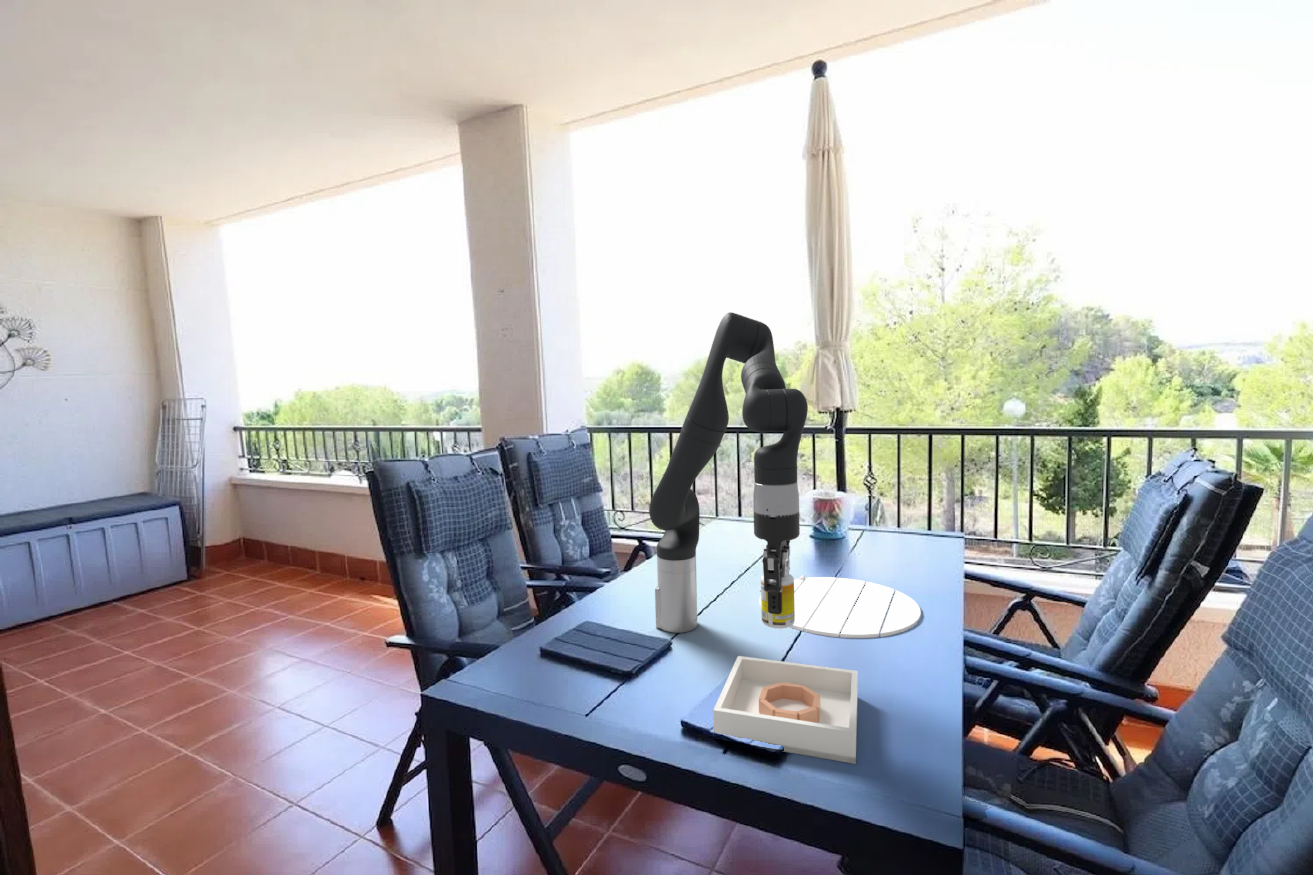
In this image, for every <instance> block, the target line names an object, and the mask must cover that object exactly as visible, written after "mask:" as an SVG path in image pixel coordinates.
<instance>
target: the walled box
mask: <svg viewBox="0 0 1313 875" xmlns="http://www.w3.org/2000/svg"><path fill="white" fill-rule="evenodd" d="M858 672H859V671H858V670H854V669H853V670H852V669H845V668H837V667H830V666H820V665H813V664H805V663H799V662H798V663H797V662H789V661H781V660H773V659H767V658H766V659H765V658H758V657H752V656H751V657H750V656H743V655H737V657H736V659H735V662H734V664H733V665H732V668H731V670H730V673H729V675H728V677H727V679H726V681H725V684H724V686H723V688H722V690H721V692H720V695H719V696H718V699H717V701H716V703H715V705H714V708H713V709H712V710H713V711H712V712H713V713H712V714H713V716H712V717H713V718H712V719H713V733H714V732H715V733H721V734H726V735H731V736H734V737H738V738H747V739H752V740H756V741H760V742H765V743H768V744H773V745H782V746H783V747H784V751H783V752H785V753H791V754H797V755H803V756H806V757H807V756H809V757H813V758H818V759H825V760H831V761H836V762H842V763H849V764H853V765H856V764H857V762H856V761H857V733H858V732H857V729H858V728H857V727H858V696H859V695H858V693H859V692H858V691H859V690H858V688H859V687H858V686H859V680H858V679H859V674H858Z"/></svg>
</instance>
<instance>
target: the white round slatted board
mask: <svg viewBox="0 0 1313 875" xmlns="http://www.w3.org/2000/svg"><path fill="white" fill-rule="evenodd" d="M865 583H866V584H865ZM864 585H865V586H864ZM863 587H864V588H863ZM861 591H862V592H861ZM759 592H760V593H761V589H760V590H759ZM827 593H828V594H827ZM860 593H861V594H860ZM893 594H894V595H893ZM858 597H859V598H858ZM892 597H893V598H892ZM857 599H858V600H857ZM891 599H892V601H891ZM758 600H759V607H760V608H761V594H760V596H759V599H758ZM856 601H857V602H856ZM890 602H891V603H890ZM855 603H856V604H855ZM794 604H795V622H794V624H793V625H792V626H790V627H789V628H791V629H793V630H796V631H797V630H798V631H800V632H803V631H804V632H805V633H809V634H813V635H817V636H823V637H824V636H825V637H833V638H839V637H840V638H841V639H844V638H845V639H872V638H873V639H875V638H878V637H879V636H880V637H881V638H883V637H888V636H889V637H890V636H894V635H897V633H898V634H901V633H903V632H906V631H908V629H909V628H910V629H912V628H913V627H912V626H914V625H915V626H916V625H917V624H918V623H919V622H920V620H921V618H920V617H922V610H921V608H920V606H919V604H918V603H917V602H916V601H915V599H913V598H911V596H909V595H907V594H905V593H903V592H901V591H899V590H895V589H894V588H892V587H889V586H885V585H883V584H880V583H879V584H878V583H875V582H871V581H865V580H861V579H855V578H846V577H835V576H832V577H831V576H815V577H814V576H813V577H811V576H810V577H809V576H808V577H806V575H803V574H802V575H801V576H800V577H799V578H795V579H794ZM854 605H855V606H854ZM889 605H890V606H889ZM888 608H889V609H888ZM886 613H887V614H886ZM847 618H848V619H847ZM884 619H885V620H884ZM919 619H920V620H919ZM918 621H919V622H918ZM917 622H918V623H917ZM915 626H914V627H915ZM881 627H882V628H881ZM911 627H912V628H911ZM910 629H909V630H910ZM840 632H841V633H840ZM900 632H901V633H900ZM893 634H894V635H893Z"/></svg>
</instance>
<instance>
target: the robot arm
mask: <svg viewBox="0 0 1313 875" xmlns="http://www.w3.org/2000/svg"><path fill="white" fill-rule="evenodd" d="M772 334H773V333H772V331H771V329H770V327H769V326H768V325H767V324H765V323H764V322H762V321H759V320H757V319H753V318H750V317H747V316H744V315H741V314H738V313H737V312H736V313H735V312H731V311H729V312H727V313H726V314H725V315H724V316H722V319H721V320H720V322H719V324H718V327H717V329H716V331H715V335H714V338H713V341H712V344H711V347H710V350H709V354H708V357H707V360H706V364H705V367H704V370H703V373H702V376H701V379H700V381H699V384H698V387H697V390H696V392H695V395H694V397H693V399H692V402H691V404H690V407H689V409H688V411H687V413H686V416H685V419H684V422H683V424H682V427H681V429H680V433H679V436H678V438H677V441H676V444H675V446H674V448H673V451H672V453H671V457H670V459H669V462H668V464H667V467H666V469H665V470H664V473H663V475H662V477H661V479H660V481H659V483H658V484H657V487H656V489H655V491H654V493H653V495H652V497H651V499H650V502H649V507H648V508H649V509H648V514H649V515H648V516H649V517H650V518H649V519H650V521H651V523H652V524H653V526H655V528H656V529H658V530H661V531H662V530H663V531H664V534H663V535H662V537H661V538H660V540H659V541H658V542H657V543H656V544H657V545H656V565H657V566H656V569H657V571H656V572H657V586H656V587H655V589H654V599H655V600H654V601H655V602H654V604H655V628H657V629H661V630H663V631H665V632H667V633H668V632H669V633H677V634H678V633H679V634H680V633H687V632H690V631H693V630H695V629H696V628H697V627H698V592H697V589H698V588H697V582H698V581H697V547H698V543H699V540H700V504H699V500H698V496H697V495H696V493H695V492H694V490H692V489H691V488H692V486H693V484H694V482H695V481H696V480H697V477H698V476H699V474H700V473H701V472H702V471H703V469H704V468H705V467H706V466H707V465H708V464H709V462H710V460H712V458H713V456H714V455H715V453H717V451H718V449H719V447H720V446H721V443H722V440H723V438H724V435H725V433H726V431H727V428H728V425H729V420H730V418H729V417H730V416H729V410H728V404H727V400H726V395H725V391H724V385H723V384H724V383H723V372H724V371H723V370H724V365H725V362H726V359H730V360H732V361H735V362H739V363H742V364H743V366H742V369H741V374H740V380H741V384H742V386H743V389H744V393H745V396H744V399H743V404H742V412H741V413H742V414H741V416H742V421H743V423H744V425H745V427H747V429H748V430H751V431H752V432H756V433H779V432H780V433H781V432H783V434H782V436H781V438H780V439H779V440H778V441H777V442H775V443H773V444H769V445H765V446H761V447H759V448H757V449H756V450H755V451H754V454H753V468H754V469H753V472H754V473H753V474H754V478H753V479H754V487H753V493H752V494H753V495H752V496H753V498H752V499H753V501H752V502H753V533H754V534H753V535H754V536H755V537H756V538H758V539H759V540H764V541H766V543H767V544H766V546H765V548H763V551H762V552H763V554H762V555H763V556H762V560H761V561H762V562H761V563H762V571H763V574H764V590H765V591H767V592H768V612H769V613H771V614H781V612H782V590H783V587H782V581H783V578H785V577H786V563H787V564H788V565H789V571H790V570H791V567H790V565H791V562H790V561H791V560H790V556H791V546H790V543H791V541H793V540H795V539H797V538H799V536H800V535H801V534H800V531H801V530H800V528H801V527H800V493H799V486H798V454H799V449H800V442H801V439H802V434H803V431H804V427H805V425H806V421H807V417H808V413H809V412H808V411H809V410H808V408H809V406H808V401H807V398H806V396H805V394H804V393H803V392H802V391H800V390H799V389H797V388H787V387H786V382H785V380H784V377H783V376H782V374H781V372H780V370H779V368H778V366H777V363H776V356H775V344H774V337H773V335H772ZM781 569H782V571H781V572H780V570H781ZM771 579H774V580H776V584H770V582H771Z"/></svg>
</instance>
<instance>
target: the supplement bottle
mask: <svg viewBox="0 0 1313 875" xmlns="http://www.w3.org/2000/svg"><path fill="white" fill-rule="evenodd" d="M789 567H790V566H789V565H788V564H787V563H786V577H785V578H783V581H782V587H783V590H782V612H781V614H771V613H769V612H768V592H767V591H765V590H764V573H763V574H762V575H761V577H760V590H761V592H760V595H761V607H760V609H761V621H762V624H764V626H767V627H769V628H773V629H787V628H791V627H790V626H792V625H793V624H794V622H795V604H794V576H793V575H792V574H790V570H789ZM781 571H782V569H781V570H780V572H781ZM770 584H776V580H774V579H771V582H770Z"/></svg>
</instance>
